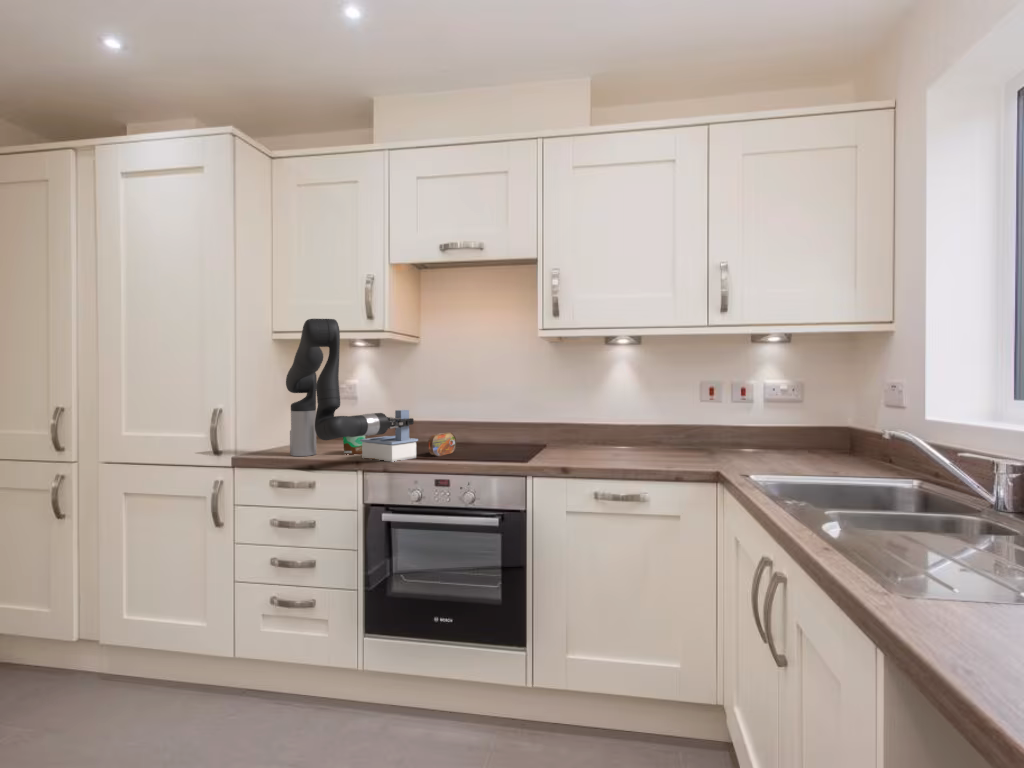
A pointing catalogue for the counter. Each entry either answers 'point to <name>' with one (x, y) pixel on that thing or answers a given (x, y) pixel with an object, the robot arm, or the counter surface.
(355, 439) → the food container
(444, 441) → the tin
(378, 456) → the tub
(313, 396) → the robot arm
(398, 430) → the lid
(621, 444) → the counter surface
